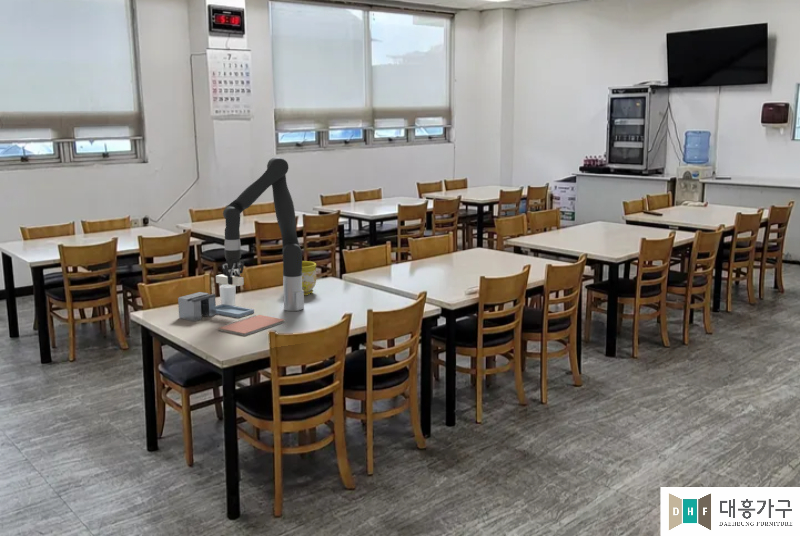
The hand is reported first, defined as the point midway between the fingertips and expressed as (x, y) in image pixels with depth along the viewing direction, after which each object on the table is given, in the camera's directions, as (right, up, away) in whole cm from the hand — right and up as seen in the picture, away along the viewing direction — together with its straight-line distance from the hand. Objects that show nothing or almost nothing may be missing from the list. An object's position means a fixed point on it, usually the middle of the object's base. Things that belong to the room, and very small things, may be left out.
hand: (233, 283), depth 352 cm
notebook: (+12, -20, -19) cm, 30 cm away
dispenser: (-16, -16, -4) cm, 23 cm away
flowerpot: (+26, -7, +46) cm, 53 cm away
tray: (-2, -14, +4) cm, 15 cm away
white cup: (-7, -12, +18) cm, 23 cm away
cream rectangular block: (-2, 0, +1) cm, 3 cm away
